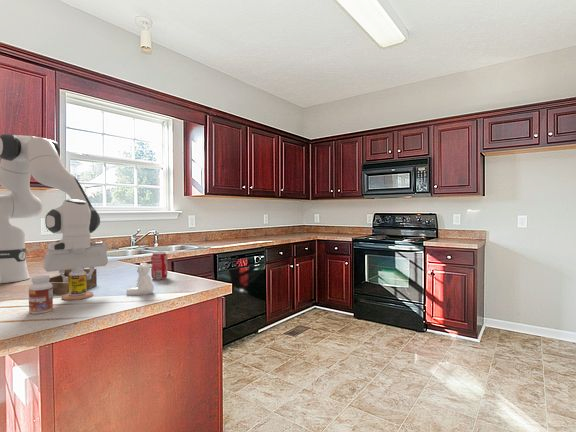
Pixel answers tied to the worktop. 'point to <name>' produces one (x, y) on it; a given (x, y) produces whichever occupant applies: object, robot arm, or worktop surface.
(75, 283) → the supplement bottle
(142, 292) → the seated beast figurine
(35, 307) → the pill bottle
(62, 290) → the frame
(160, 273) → the soda can
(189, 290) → the worktop surface
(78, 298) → the tan oval disc
